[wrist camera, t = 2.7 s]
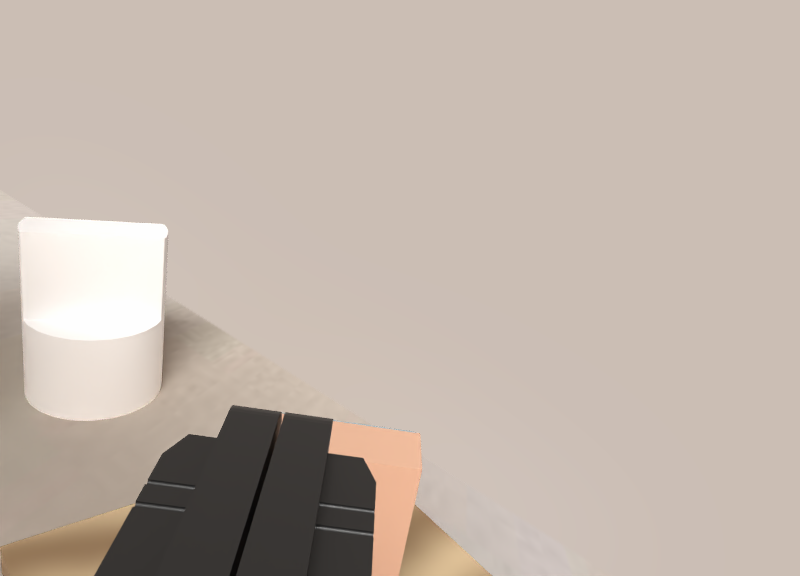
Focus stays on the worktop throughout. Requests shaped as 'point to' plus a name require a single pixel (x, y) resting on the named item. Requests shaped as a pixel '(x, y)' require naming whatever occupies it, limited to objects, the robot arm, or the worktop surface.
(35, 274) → the base with upright slab
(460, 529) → the worktop surface
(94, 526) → the board
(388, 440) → the tile
